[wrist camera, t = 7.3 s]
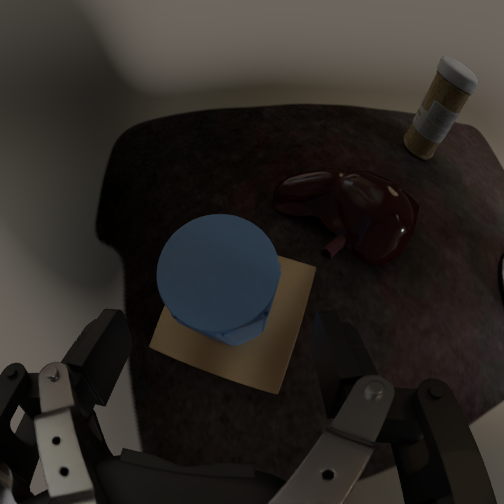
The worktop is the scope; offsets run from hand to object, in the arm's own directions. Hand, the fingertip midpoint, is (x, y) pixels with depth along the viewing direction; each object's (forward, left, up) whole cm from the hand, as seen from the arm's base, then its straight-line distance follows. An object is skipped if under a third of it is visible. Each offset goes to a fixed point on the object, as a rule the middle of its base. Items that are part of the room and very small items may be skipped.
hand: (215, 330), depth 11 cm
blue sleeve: (+1, -2, -9) cm, 9 cm away
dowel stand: (+1, -2, -10) cm, 10 cm away
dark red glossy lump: (-6, -13, -10) cm, 18 cm away
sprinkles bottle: (-14, -27, -10) cm, 32 cm away
